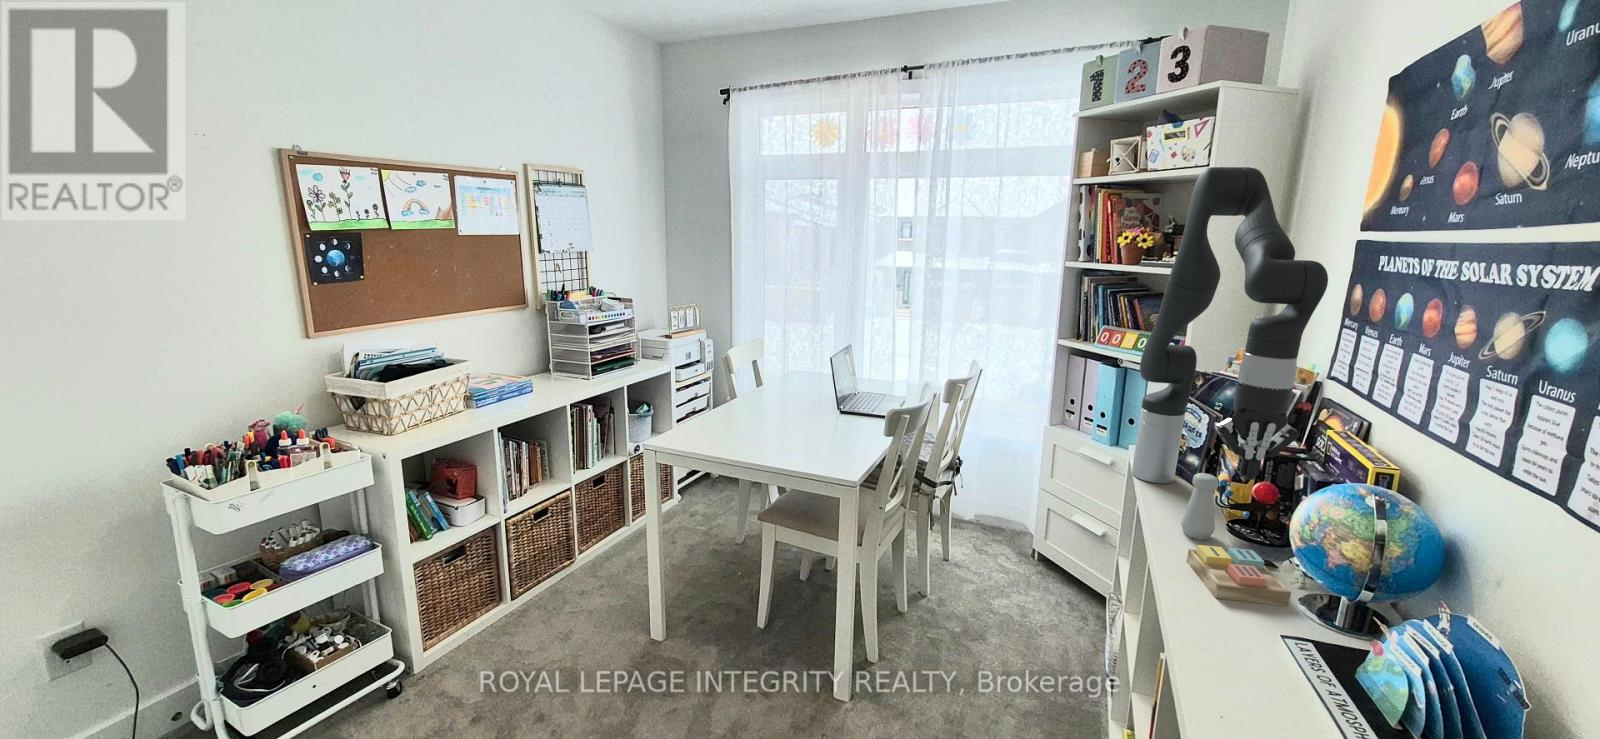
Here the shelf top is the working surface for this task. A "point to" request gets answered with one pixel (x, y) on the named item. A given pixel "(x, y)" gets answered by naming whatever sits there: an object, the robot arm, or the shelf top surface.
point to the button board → (1229, 590)
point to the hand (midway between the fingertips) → (1246, 477)
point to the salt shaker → (1200, 508)
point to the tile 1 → (1213, 555)
